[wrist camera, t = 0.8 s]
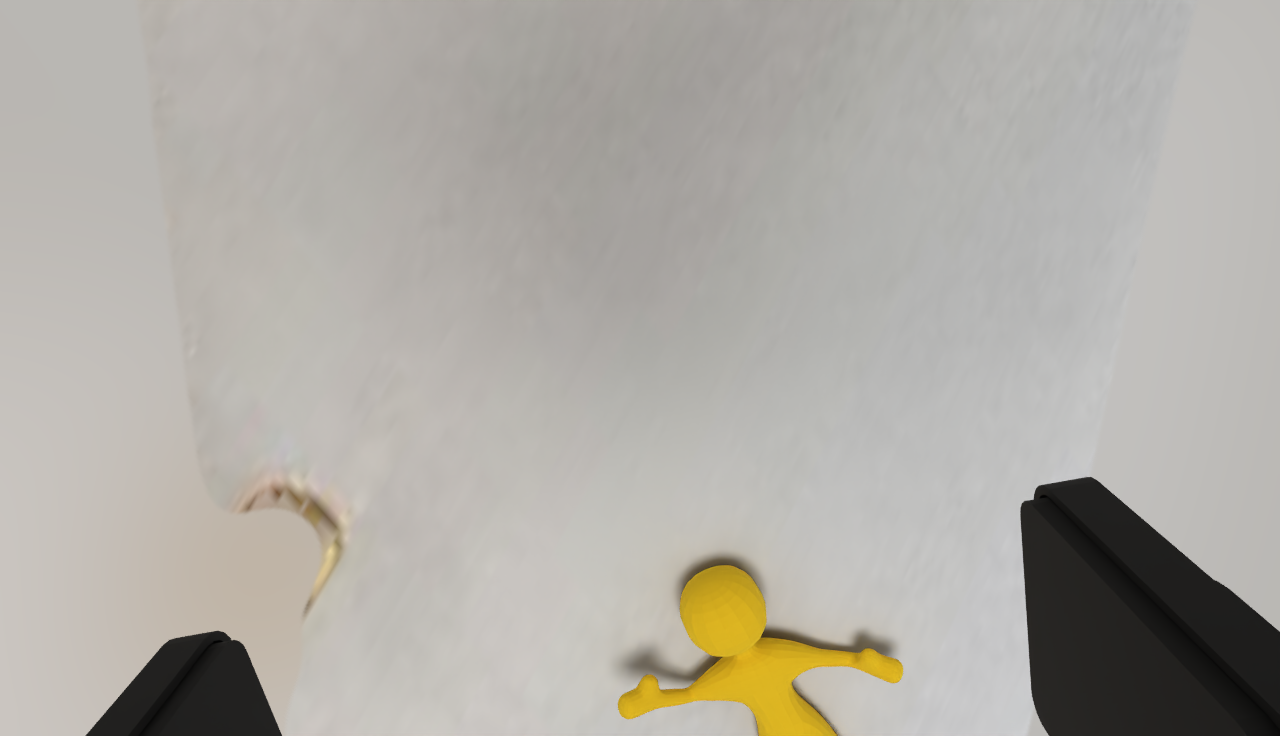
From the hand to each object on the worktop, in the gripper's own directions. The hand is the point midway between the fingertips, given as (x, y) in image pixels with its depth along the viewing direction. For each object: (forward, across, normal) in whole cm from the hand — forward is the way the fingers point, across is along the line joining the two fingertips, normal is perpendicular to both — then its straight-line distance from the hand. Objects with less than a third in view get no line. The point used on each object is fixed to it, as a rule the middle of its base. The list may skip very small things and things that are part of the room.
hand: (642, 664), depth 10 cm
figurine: (+30, -2, +25) cm, 39 cm away
